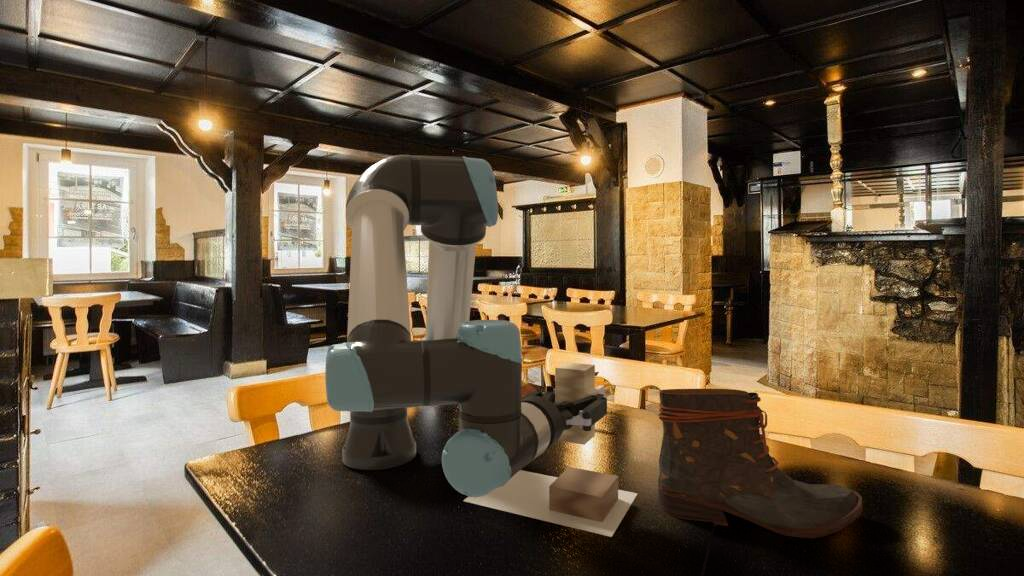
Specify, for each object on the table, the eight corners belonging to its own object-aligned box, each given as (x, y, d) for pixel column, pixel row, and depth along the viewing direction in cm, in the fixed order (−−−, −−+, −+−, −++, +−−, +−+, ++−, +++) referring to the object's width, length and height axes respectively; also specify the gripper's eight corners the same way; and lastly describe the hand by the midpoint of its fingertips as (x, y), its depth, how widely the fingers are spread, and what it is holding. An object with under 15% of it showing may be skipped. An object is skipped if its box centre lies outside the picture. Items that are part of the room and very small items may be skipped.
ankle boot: (880, 544, 76) (885, 409, 75) (661, 527, 82) (662, 400, 80) (845, 507, 88) (848, 389, 86) (654, 494, 93) (655, 382, 92)
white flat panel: (462, 502, 90) (462, 500, 90) (506, 469, 104) (506, 467, 104) (611, 539, 78) (611, 536, 78) (637, 495, 92) (637, 493, 92)
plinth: (549, 510, 86) (549, 486, 86) (568, 488, 94) (568, 466, 94) (602, 522, 82) (602, 497, 82) (618, 498, 90) (618, 475, 90)
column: (555, 440, 86) (555, 367, 86) (567, 431, 91) (566, 362, 90) (584, 444, 84) (584, 370, 83) (594, 435, 88) (594, 364, 88)
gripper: (471, 445, 76) (540, 406, 96) (590, 468, 67) (637, 419, 88) (470, 394, 75) (539, 365, 96) (590, 410, 67) (638, 374, 87)
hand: (586, 391), depth 92 cm, fingers closed on column, 5 cm apart
